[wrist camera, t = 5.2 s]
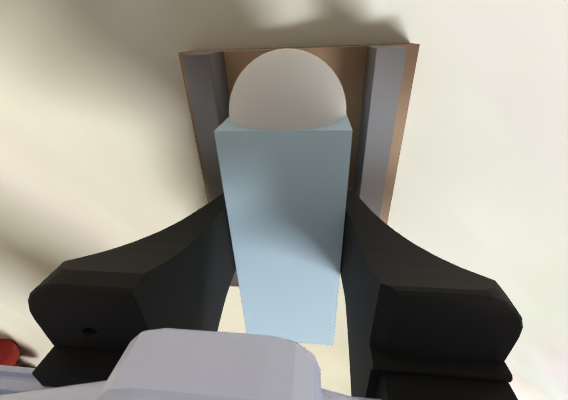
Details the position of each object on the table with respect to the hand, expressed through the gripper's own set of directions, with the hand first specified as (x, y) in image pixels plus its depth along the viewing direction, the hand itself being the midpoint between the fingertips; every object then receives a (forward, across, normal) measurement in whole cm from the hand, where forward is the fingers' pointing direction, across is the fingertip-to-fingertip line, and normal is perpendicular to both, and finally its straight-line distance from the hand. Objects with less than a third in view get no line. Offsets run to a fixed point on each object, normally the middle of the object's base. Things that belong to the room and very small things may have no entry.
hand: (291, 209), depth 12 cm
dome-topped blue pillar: (+2, 0, 0) cm, 2 cm away
